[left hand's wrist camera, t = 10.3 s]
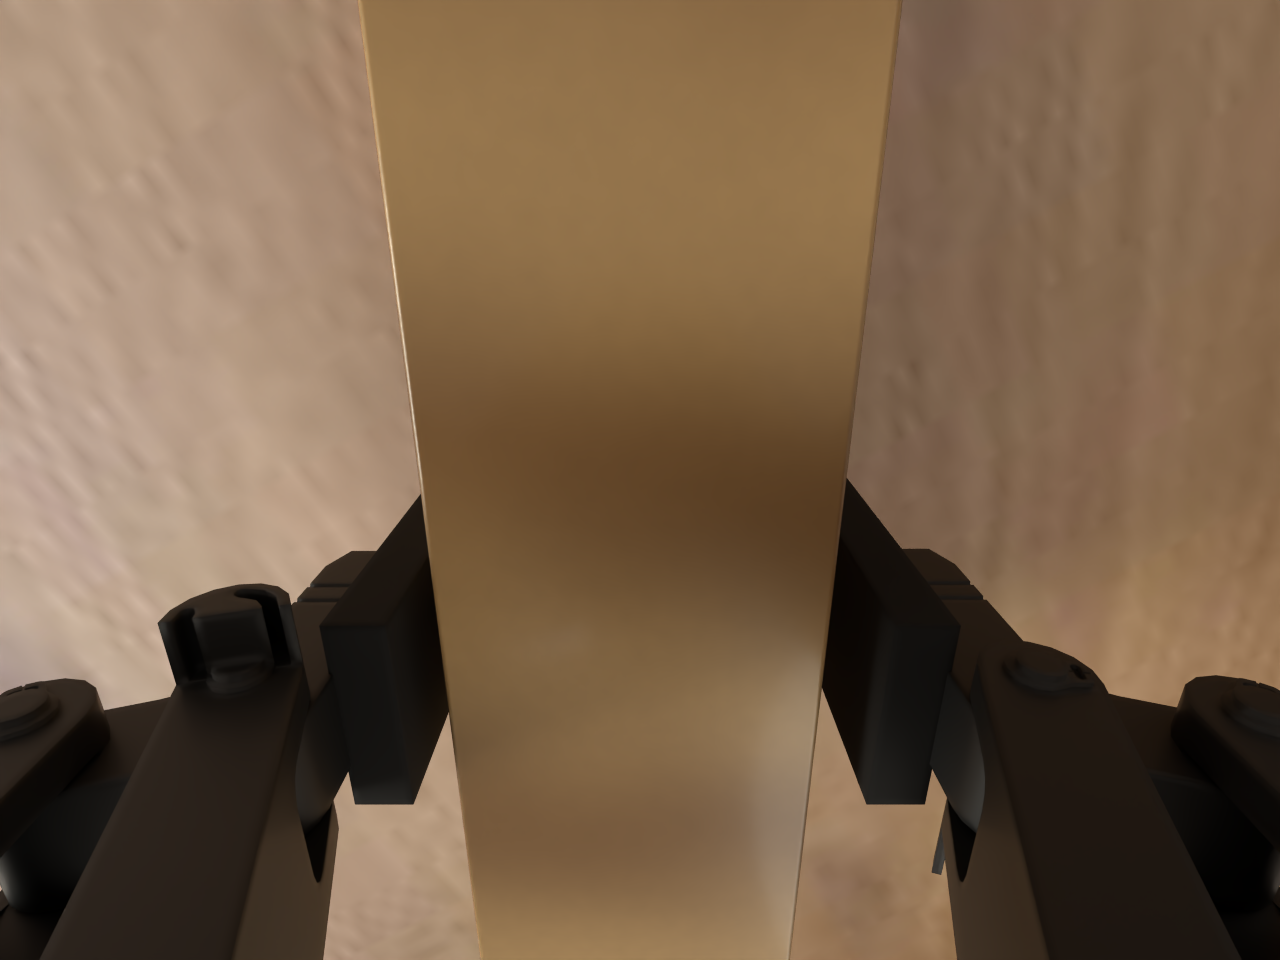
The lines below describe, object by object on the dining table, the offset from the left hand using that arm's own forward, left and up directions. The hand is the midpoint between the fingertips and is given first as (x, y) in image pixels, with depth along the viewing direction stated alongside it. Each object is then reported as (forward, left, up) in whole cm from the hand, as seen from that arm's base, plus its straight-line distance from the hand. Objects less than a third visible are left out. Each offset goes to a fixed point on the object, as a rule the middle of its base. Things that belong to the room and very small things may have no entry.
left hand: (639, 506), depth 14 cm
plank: (+22, 0, -2) cm, 22 cm away
